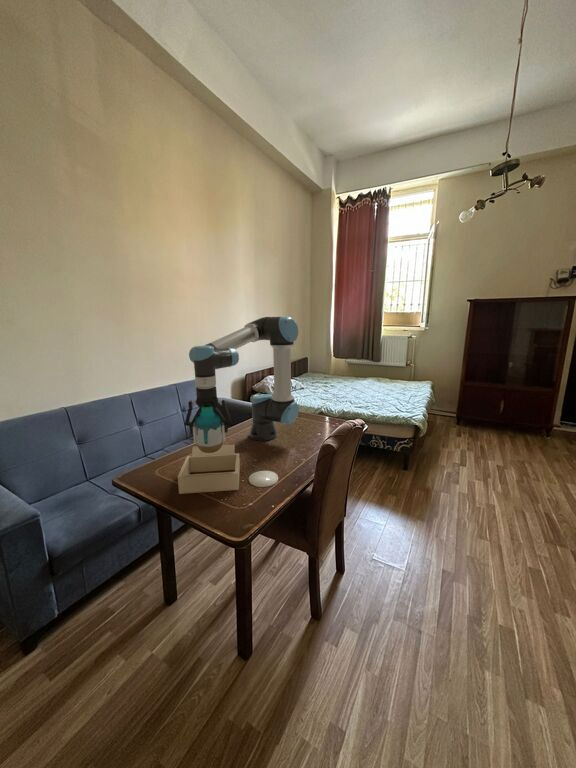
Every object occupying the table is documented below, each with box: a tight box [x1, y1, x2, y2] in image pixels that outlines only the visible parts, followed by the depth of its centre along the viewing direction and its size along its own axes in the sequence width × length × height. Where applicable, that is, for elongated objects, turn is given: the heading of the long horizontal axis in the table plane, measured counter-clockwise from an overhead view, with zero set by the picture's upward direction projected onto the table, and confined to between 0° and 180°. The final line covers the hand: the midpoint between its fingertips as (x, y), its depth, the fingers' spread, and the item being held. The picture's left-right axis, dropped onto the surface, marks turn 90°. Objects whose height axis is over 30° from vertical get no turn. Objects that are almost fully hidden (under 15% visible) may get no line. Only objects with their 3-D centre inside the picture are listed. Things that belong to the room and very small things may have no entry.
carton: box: [177, 444, 241, 495], centre depth 126 cm, size 25×22×10 cm
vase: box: [194, 406, 224, 453], centre depth 123 cm, size 11×11×19 cm
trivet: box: [248, 470, 279, 488], centre depth 128 cm, size 12×12×1 cm
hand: (209, 440), depth 124 cm, fingers closed on vase, 10 cm apart
